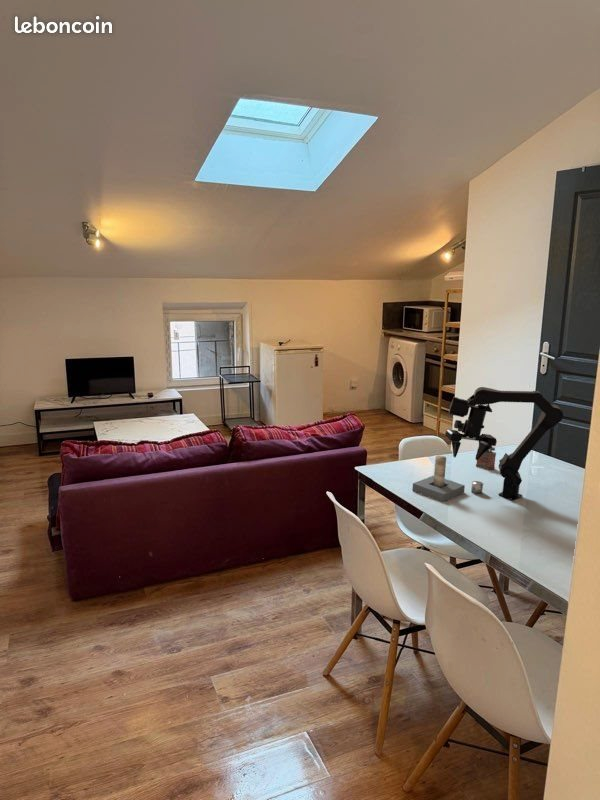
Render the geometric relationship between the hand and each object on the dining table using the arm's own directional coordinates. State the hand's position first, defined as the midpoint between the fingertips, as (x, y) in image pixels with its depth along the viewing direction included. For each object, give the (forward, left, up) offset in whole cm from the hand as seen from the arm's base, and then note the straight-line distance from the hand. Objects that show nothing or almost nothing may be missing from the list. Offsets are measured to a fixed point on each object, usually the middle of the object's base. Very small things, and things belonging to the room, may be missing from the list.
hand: (465, 458), depth 202 cm
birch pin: (+8, -5, -13) cm, 17 cm away
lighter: (-32, -8, -13) cm, 35 cm away
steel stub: (-3, +5, -13) cm, 14 cm away
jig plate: (+8, -5, -13) cm, 17 cm away
